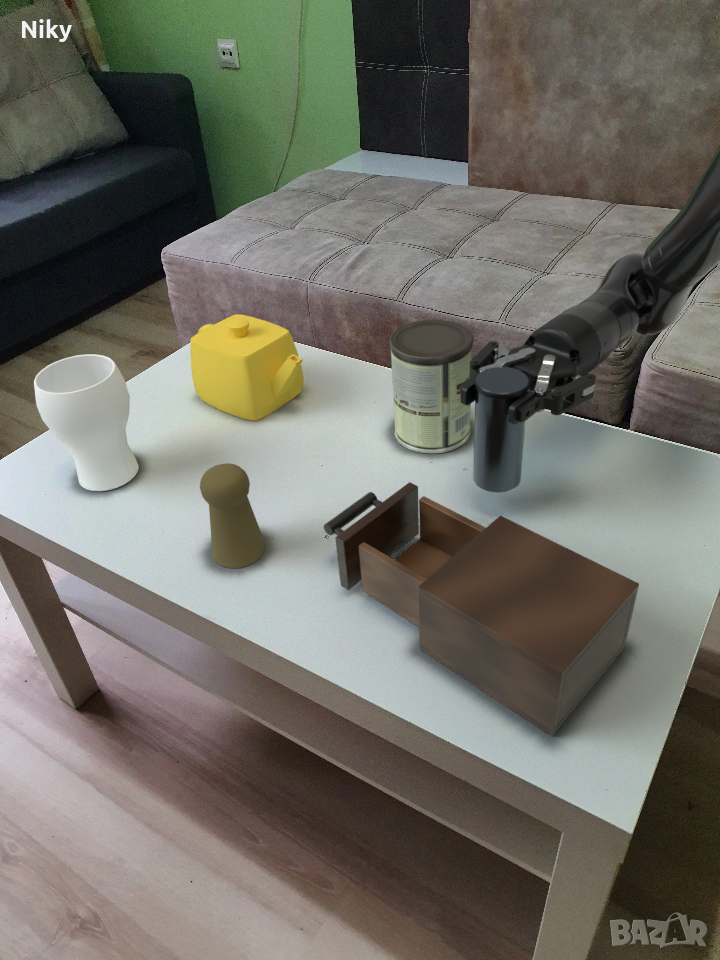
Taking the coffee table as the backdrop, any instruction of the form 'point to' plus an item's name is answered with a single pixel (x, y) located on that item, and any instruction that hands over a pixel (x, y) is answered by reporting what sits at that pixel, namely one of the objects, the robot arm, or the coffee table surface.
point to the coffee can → (431, 384)
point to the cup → (89, 417)
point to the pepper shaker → (231, 516)
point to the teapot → (245, 366)
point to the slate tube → (498, 429)
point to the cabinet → (526, 620)
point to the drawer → (397, 546)
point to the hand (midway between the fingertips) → (487, 406)
